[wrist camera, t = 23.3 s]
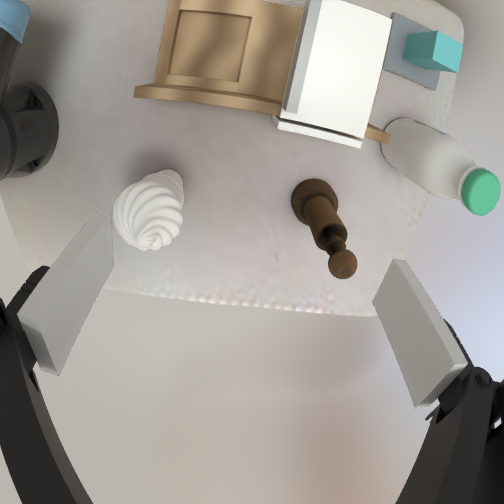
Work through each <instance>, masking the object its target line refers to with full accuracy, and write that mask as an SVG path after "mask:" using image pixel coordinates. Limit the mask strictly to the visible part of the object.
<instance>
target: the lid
mask: <svg viewBox="0 0 504 504" xmlns="http://www.w3.org/2000/svg"><path fill="white" fill-rule="evenodd" d="M391 23H392V19H390V18H387V17H385V16H383V15H380V14H378V13H375V12H372V11H370V10H367V9H364V8H362V7H359V6H356V5H353V4H350V3H347V2H344V1H341V0H305V3H304V7H303V12H302V16H301V21H300V25H299V30H298V34H297V39H296V43H295V48H294V52H293V57H292V61H291V66H290V70H289V75H288V79H287V84H286V89H285V93H284V98H283V102H282V107H281V111H280V116H277V115H272V120H273V121H274V123H275V125H276V127H277V128H278V129H281V130H286V131H291V132H295V133H300V134H304V135H309V136H313V137H317V138H321V139H326V140H330V141H334V142H337V143H341V144H345V145H349V146H352V147H356V148H361V145H362V141H361V140H359V139H358V138H356V137H355V136H357V137H361V138H364V134H365V131H366V127H367V124H368V120H369V116H370V113H371V109H372V105H373V101H374V97H375V93H376V89H377V85H378V81H379V77H380V73H381V69H382V65H383V60H384V56H385V52H386V47H387V42H388V38H389V33H390V28H391ZM353 135H354V136H353Z"/></svg>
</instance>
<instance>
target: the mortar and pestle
mask: <svg viewBox="0 0 504 504" xmlns="http://www.w3.org/2000/svg"><path fill="white" fill-rule="evenodd" d="M291 203H292V208H293V210H294V213H295V215H296V217H297V218H298V220H299V221H301V222H302V223H303V224H305V225H308V226H309V227H310V229H311V232H312V234H313V237H314V240H315V243H316V245H317V246H318V247H319V248H320V249H322V250H324V251H326V252H327V254H328V255H330V258H329V261H328V268H329V270H330V272H331V274H332V275H333V276H334V277H336V278H339V279H347V278H350V277H351V276H352V275H353V274H354V273H355V272H356V269H357V259H356V257H355V255H354V254H353V253H352V252H351V251H349V250H347V249H346V244H345V242H346V239H347V230H346V228H345V226H344V224H343V223H342V221H341V220H340V218H339V216H338V215H337V213H336V212H337V209H338V199H337V196H336V194H335V192H334V191H333V189H332V188H331V187H330V186H329V185H328V184H327V183H326V182H324V181H322V180H318V179H310V180H306V181H304V182H302V183H300V184H299V185H298V186H297V187H296V188H295V190H294V192H293V194H292V199H291Z"/></svg>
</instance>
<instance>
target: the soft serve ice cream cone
mask: <svg viewBox="0 0 504 504" xmlns="http://www.w3.org/2000/svg"><path fill="white" fill-rule="evenodd" d="M183 204H184V193H183V182H182V178H181V176H180V175H179V174H178V173H177V172H175V171H173V170H170V169H165V170H162V171H159V172H157V173H153V174H150V175H147V176H146V177H144V178H143V179H142V180H141V181H140V182H136V183H133V184H131V185H129V186H128V187H126V188H125V189H124V190H123V191H122V192H121V193H120V194H119V196H118V197H117V198H116V200H115V202H114V205H113V220H114V225H115V228H116V230H117V231H118V233H119V234H120V235H121V237H122V238H123V239H124V240H125V241H126V243H128V244H129V245H131V246H136V247H137V248H138V249H140V250H142V251H145V250H148V249H149V248H150V249H153V250H159V249H160V248H161V246H162V245H163V246H166V245H169V244H170V243H171V241H172V238H173V237H176V236H178V235H179V233H180V226H181V225H182V223H183V216H182V208H183Z"/></svg>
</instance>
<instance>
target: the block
mask: <svg viewBox="0 0 504 504" xmlns="http://www.w3.org/2000/svg"><path fill="white" fill-rule="evenodd" d="M462 48H463V45H462V44H460V43H459V42H457V41H455V40H453V39H452V38H450V37H448V36H446V35H445V34H443V33H441V32H439V31H430V32H421V33H413V34H407V38H406V43H405V48H404V53H403V57H402V59H404V60H406V61H409V62H411V63H413V64H415V65H418V66H420V67H422V68H424V69H429V70H439V71H448V72H456V73H458V68H459V63H460V58H461V53H462Z"/></svg>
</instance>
